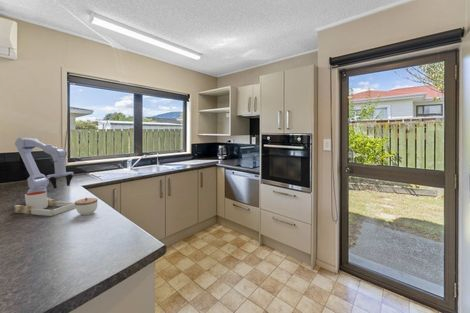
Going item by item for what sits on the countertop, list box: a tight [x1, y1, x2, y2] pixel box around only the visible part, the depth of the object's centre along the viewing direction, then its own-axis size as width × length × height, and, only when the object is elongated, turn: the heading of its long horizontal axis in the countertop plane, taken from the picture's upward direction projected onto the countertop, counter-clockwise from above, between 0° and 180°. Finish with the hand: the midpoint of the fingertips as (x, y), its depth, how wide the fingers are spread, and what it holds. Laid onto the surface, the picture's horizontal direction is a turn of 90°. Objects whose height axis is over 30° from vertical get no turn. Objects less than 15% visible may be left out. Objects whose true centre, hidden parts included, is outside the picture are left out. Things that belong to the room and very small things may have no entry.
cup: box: [24, 190, 49, 210], centre depth 134 cm, size 10×10×10 cm
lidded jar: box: [74, 196, 99, 216], centre depth 125 cm, size 11×11×9 cm
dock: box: [30, 200, 76, 217], centre depth 131 cm, size 15×15×3 cm
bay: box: [13, 198, 57, 215], centre depth 134 cm, size 12×15×4 cm
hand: (61, 186), depth 148 cm, fingers open, 7 cm apart
